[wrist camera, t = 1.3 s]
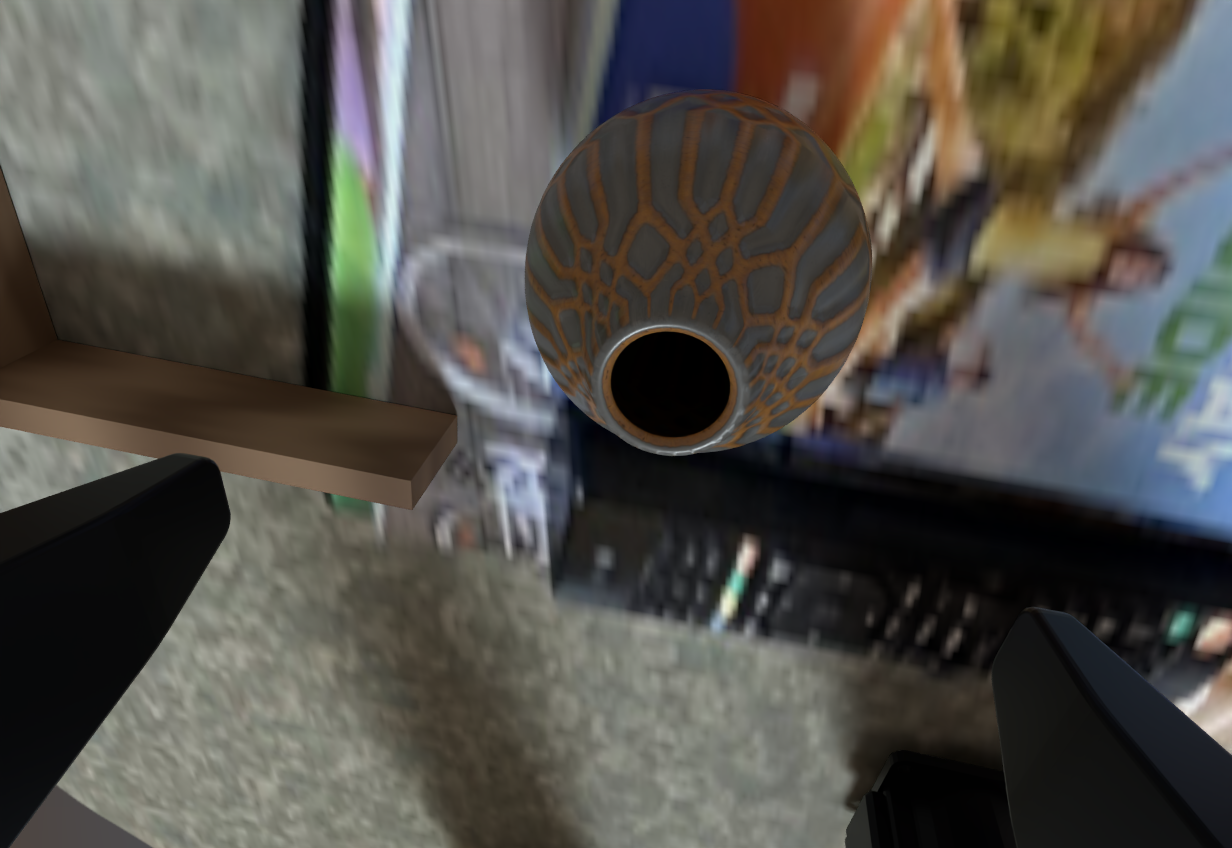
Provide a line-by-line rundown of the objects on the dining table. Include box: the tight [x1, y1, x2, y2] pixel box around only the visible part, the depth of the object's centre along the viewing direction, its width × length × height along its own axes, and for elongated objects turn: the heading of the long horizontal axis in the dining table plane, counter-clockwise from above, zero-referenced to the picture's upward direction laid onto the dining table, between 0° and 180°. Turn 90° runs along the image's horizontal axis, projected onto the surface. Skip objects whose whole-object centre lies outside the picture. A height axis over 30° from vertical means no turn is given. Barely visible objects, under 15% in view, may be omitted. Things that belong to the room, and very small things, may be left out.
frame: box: [0, 168, 457, 510], centre depth 18 cm, size 14×16×4 cm
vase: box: [525, 89, 872, 456], centre depth 14 cm, size 7×7×9 cm
